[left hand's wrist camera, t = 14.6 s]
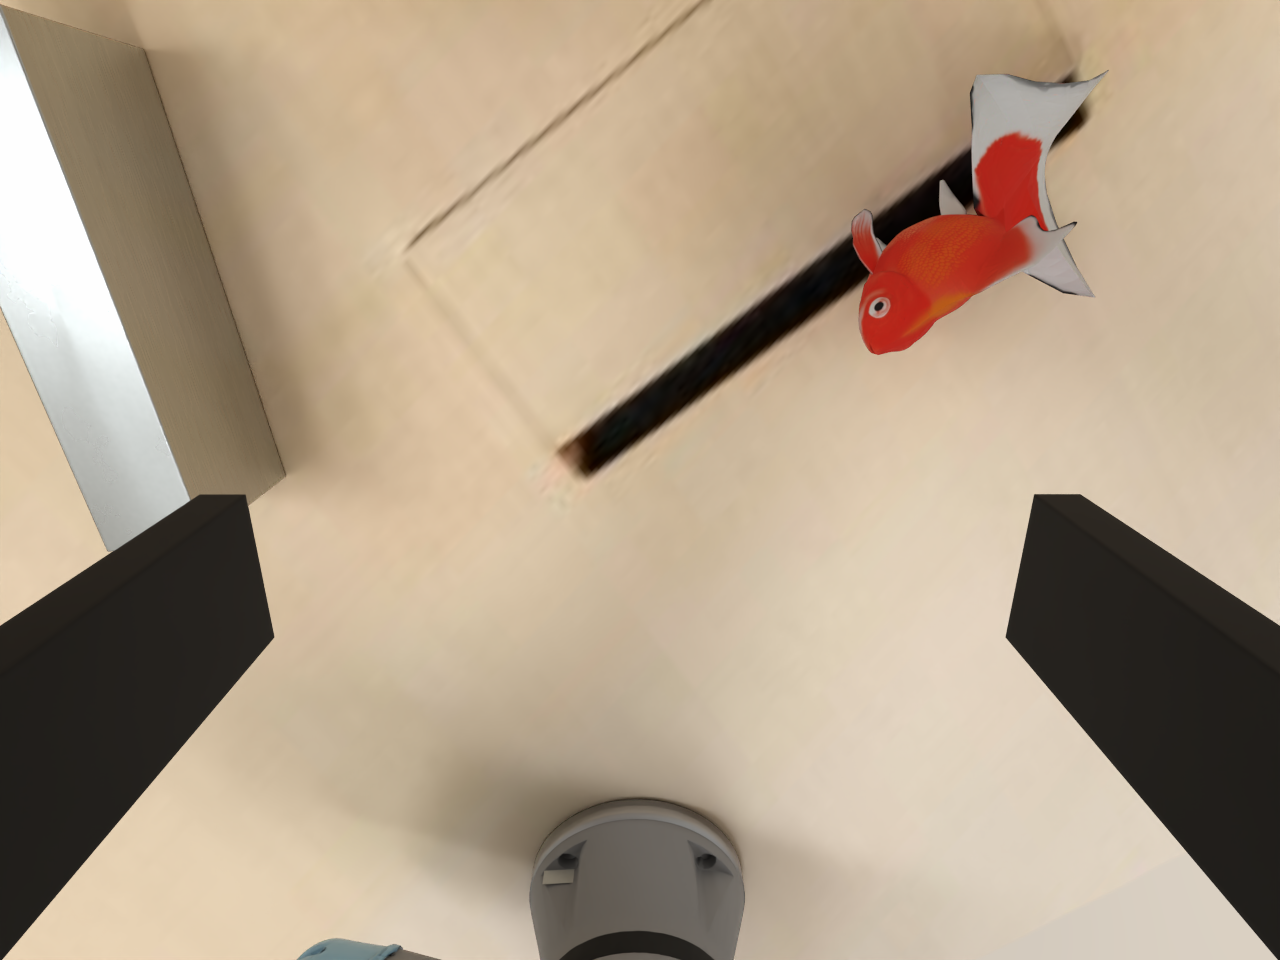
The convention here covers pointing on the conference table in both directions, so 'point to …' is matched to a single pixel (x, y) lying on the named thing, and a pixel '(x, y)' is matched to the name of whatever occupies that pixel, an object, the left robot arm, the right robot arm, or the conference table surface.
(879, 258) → the fish
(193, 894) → the conference table surface
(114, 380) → the bar
